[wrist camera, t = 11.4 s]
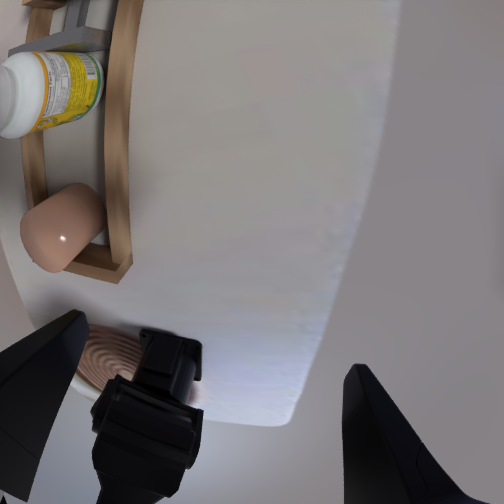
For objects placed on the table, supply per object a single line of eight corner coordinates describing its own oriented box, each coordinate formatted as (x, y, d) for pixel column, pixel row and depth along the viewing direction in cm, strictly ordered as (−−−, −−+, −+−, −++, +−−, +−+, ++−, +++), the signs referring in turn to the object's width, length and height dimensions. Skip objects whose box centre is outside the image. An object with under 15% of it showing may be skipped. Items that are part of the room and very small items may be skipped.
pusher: (119, 47, 15) (81, 41, 11) (47, 60, 15) (7, 63, 11) (136, -36, 11) (104, -56, 7) (60, -14, 11) (24, -22, 7)
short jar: (108, 240, 23) (74, 278, 18) (65, 234, 23) (29, 266, 18) (102, 184, 20) (59, 213, 15) (57, 182, 20) (14, 208, 16)
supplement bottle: (115, 56, 15) (13, 53, 7) (97, 126, 18) (-1, 162, 10) (63, 50, 15) (-34, 56, 6) (48, 113, 17) (-44, 144, 9)
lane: (132, 263, 24) (111, 292, 20) (50, 245, 24) (26, 267, 20) (157, -55, 10) (134, -76, 7) (56, -26, 10) (26, -34, 7)
